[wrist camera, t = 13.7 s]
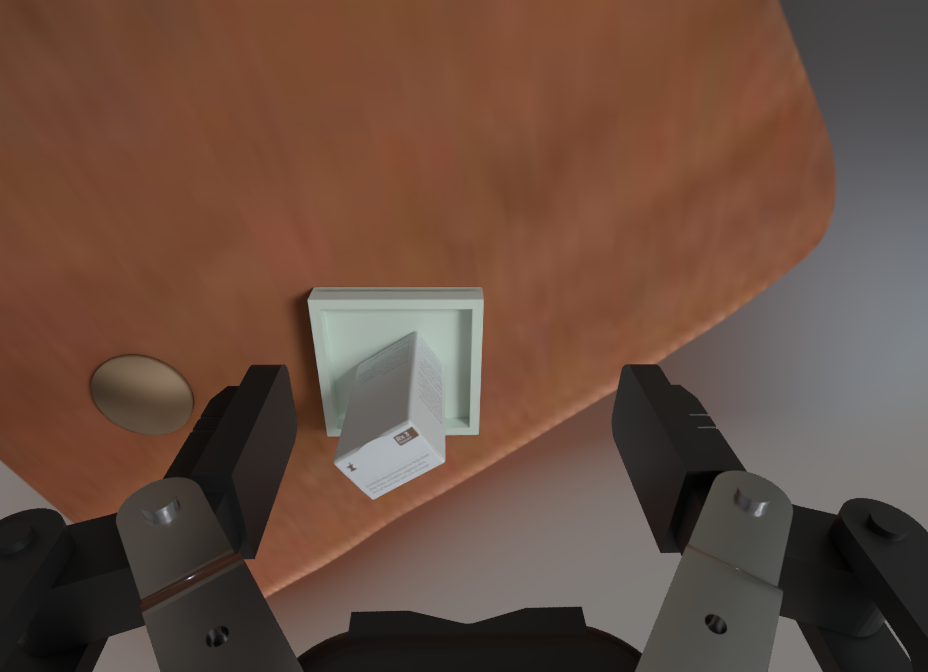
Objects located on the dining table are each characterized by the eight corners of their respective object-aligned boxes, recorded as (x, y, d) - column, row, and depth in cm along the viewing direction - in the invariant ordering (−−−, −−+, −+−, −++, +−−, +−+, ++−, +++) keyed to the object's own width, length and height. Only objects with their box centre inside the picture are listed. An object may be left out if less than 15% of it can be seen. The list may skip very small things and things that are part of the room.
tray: (313, 287, 41) (307, 299, 39) (481, 287, 42) (483, 299, 40) (331, 420, 48) (327, 436, 46) (477, 418, 48) (478, 434, 46)
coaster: (81, 354, 44) (77, 358, 43) (181, 354, 44) (178, 358, 43) (112, 431, 48) (108, 435, 47) (203, 430, 48) (200, 434, 47)
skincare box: (388, 397, 46) (372, 507, 35) (355, 361, 44) (327, 465, 33) (448, 363, 44) (450, 467, 34) (416, 324, 42) (408, 421, 32)
